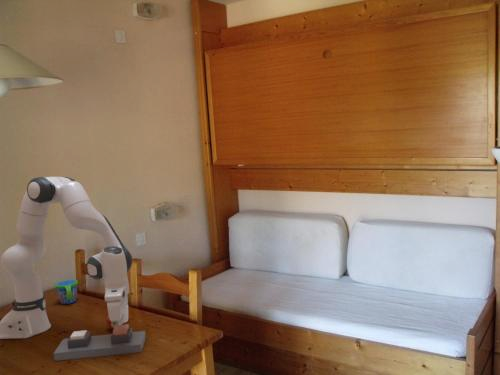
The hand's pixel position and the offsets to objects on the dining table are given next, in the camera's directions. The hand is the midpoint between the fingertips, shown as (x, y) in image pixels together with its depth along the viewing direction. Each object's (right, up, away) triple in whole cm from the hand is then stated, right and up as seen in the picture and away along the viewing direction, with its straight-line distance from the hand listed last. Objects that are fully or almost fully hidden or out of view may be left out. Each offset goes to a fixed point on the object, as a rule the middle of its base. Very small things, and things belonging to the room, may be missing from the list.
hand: (120, 323), depth 193 cm
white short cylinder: (-7, -7, +28) cm, 30 cm away
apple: (-7, -8, +20) cm, 23 cm away
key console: (-7, -10, 0) cm, 12 cm away
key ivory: (-16, -6, -1) cm, 17 cm away
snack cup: (-42, -6, +59) cm, 73 cm away
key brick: (0, -4, 0) cm, 4 cm away
